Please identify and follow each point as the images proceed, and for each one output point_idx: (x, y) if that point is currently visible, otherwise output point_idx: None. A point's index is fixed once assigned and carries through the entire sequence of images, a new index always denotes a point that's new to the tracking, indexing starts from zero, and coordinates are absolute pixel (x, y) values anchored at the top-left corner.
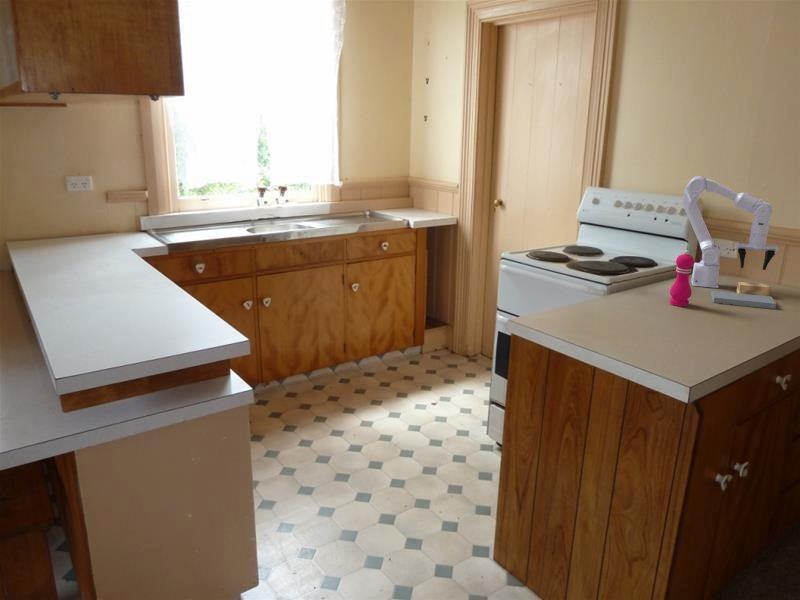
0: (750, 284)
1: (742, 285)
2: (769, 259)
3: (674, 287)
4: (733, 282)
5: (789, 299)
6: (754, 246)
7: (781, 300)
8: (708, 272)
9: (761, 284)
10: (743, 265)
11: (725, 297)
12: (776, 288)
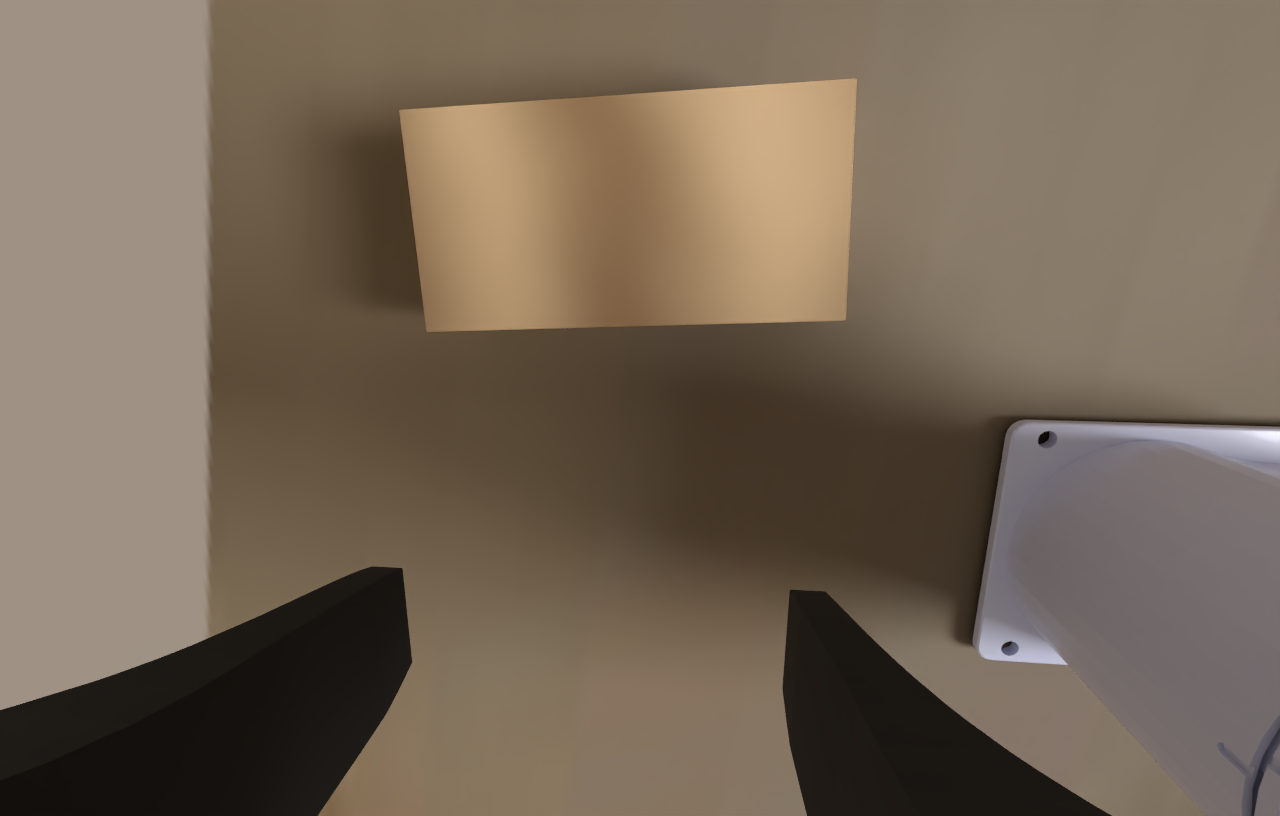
0: (677, 186)
1: (819, 84)
2: (91, 691)
3: None
4: (750, 762)
5: (247, 195)
6: None
7: (330, 96)
8: None
9: (507, 262)
10: (810, 613)
11: None
12: None
